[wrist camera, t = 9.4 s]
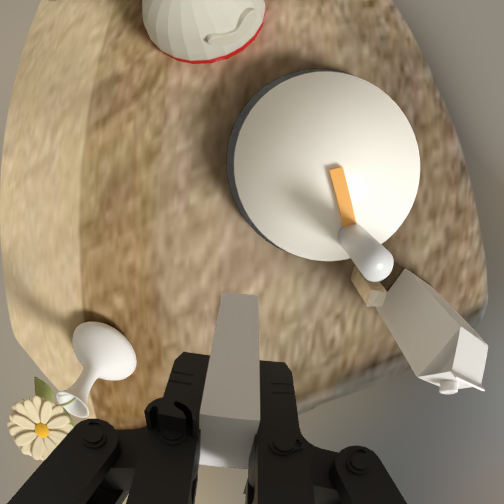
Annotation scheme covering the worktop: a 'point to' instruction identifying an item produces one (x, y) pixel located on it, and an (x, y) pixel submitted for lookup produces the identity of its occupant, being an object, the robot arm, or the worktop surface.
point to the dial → (328, 169)
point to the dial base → (367, 289)
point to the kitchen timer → (202, 27)
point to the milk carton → (433, 335)
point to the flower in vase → (70, 390)
